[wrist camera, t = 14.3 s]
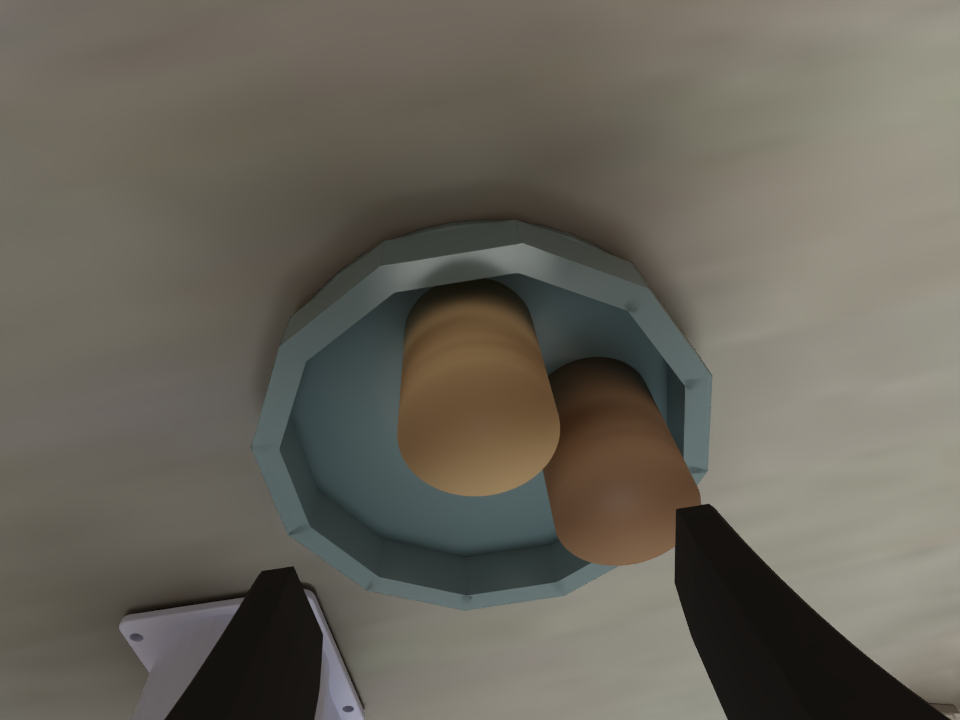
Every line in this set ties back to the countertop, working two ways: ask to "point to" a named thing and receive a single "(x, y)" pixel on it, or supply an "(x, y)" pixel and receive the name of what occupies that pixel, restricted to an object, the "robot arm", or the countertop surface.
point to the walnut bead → (613, 466)
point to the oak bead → (474, 391)
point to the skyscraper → (948, 711)
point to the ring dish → (375, 408)
